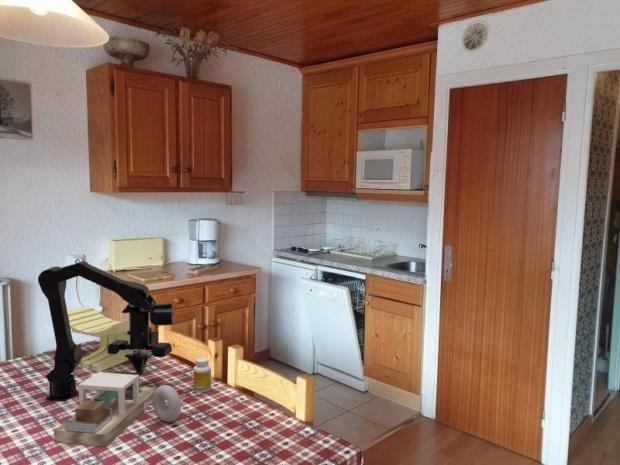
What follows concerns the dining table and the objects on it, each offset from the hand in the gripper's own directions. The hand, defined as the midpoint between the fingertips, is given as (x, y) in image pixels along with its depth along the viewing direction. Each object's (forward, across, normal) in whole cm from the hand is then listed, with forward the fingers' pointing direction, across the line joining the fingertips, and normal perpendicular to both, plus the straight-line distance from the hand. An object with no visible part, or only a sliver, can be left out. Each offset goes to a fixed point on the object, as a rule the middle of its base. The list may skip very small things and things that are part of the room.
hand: (140, 375), depth 153 cm
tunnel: (+3, 0, +17) cm, 18 cm away
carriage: (+2, 0, +19) cm, 19 cm away
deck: (+6, 0, +17) cm, 18 cm away
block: (+2, 0, +27) cm, 27 cm away
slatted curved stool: (+6, +26, -23) cm, 36 cm away
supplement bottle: (+6, -18, -6) cm, 20 cm away
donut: (+6, -16, +16) cm, 24 cm away
